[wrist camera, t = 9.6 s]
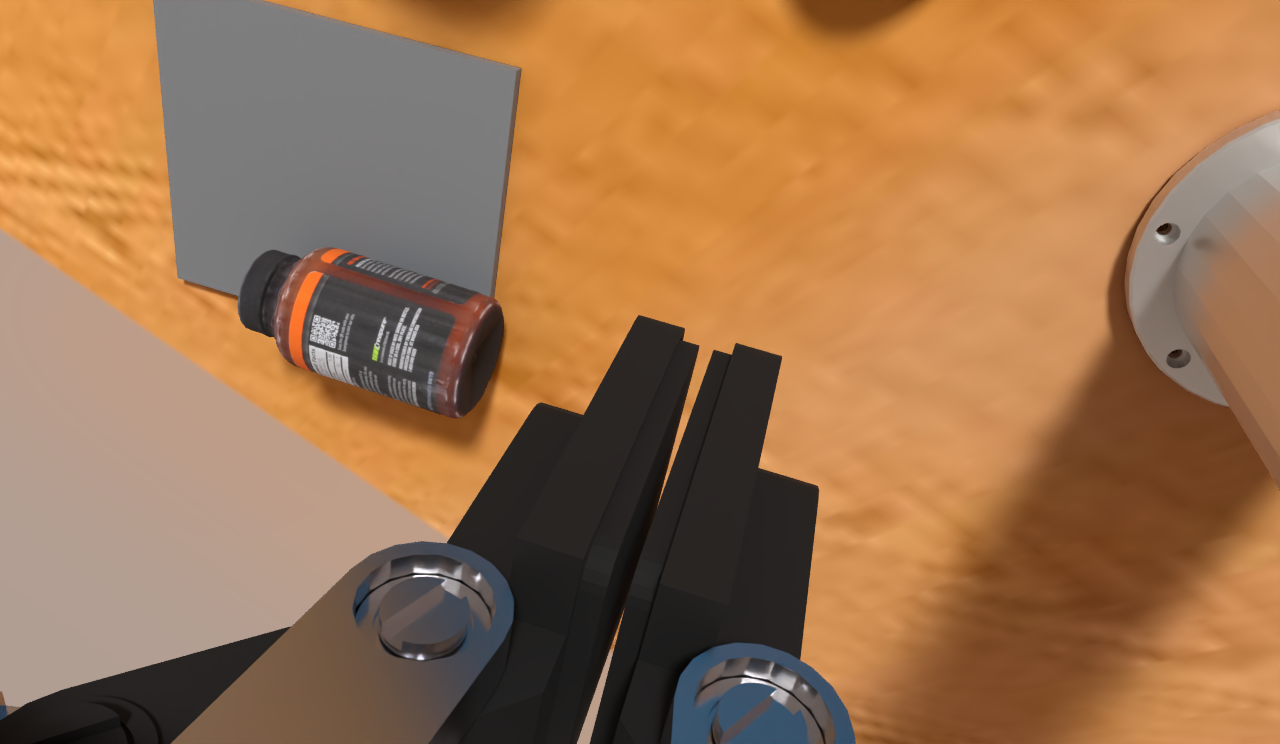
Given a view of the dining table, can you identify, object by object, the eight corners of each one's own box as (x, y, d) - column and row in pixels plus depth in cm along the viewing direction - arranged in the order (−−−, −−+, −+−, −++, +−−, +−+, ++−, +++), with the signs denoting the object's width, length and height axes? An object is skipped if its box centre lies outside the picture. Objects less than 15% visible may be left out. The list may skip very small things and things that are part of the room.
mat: (521, 68, 39) (516, 71, 38) (485, 363, 47) (481, 369, 46) (160, -27, 40) (151, -26, 40) (185, 273, 48) (177, 277, 48)
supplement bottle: (515, 323, 46) (309, 255, 47) (498, 281, 40) (263, 204, 41) (471, 434, 44) (259, 361, 45) (446, 407, 39) (204, 324, 40)
